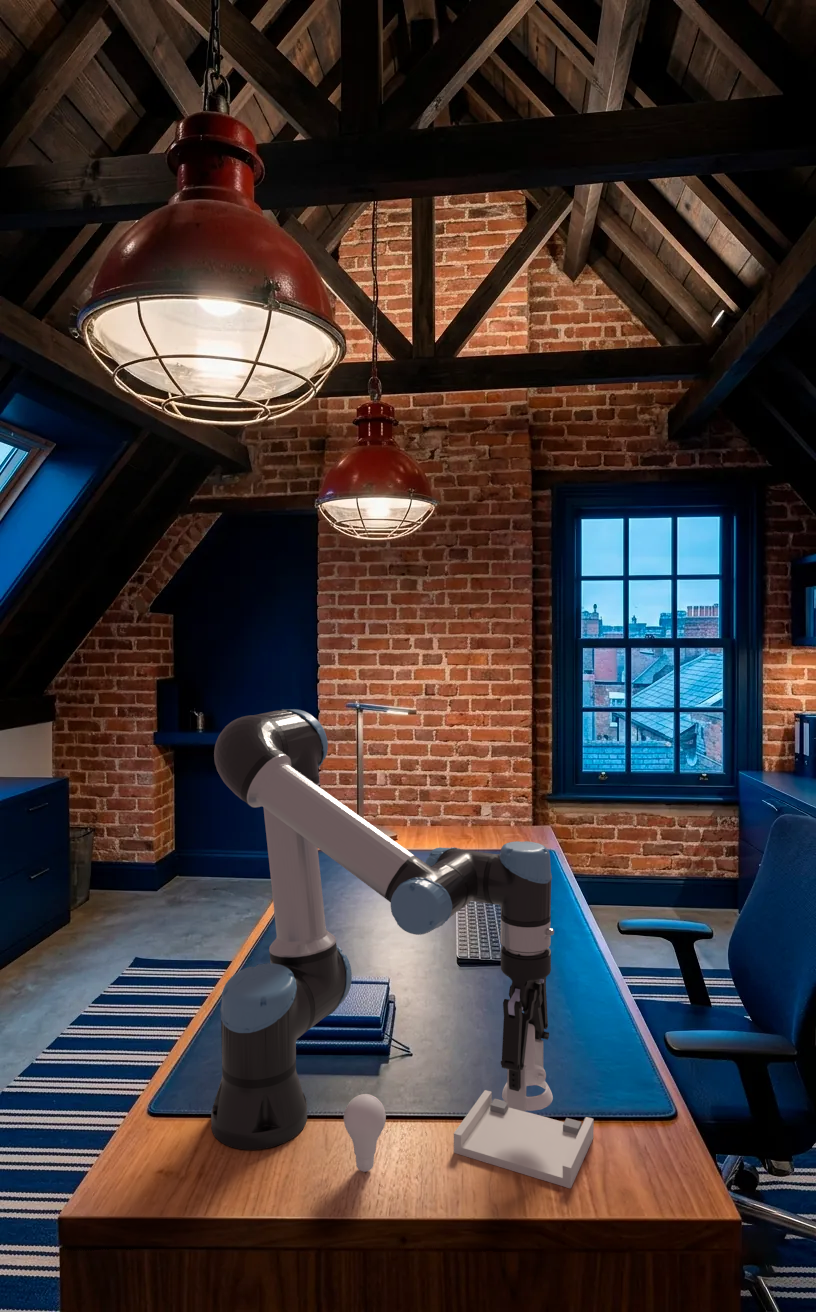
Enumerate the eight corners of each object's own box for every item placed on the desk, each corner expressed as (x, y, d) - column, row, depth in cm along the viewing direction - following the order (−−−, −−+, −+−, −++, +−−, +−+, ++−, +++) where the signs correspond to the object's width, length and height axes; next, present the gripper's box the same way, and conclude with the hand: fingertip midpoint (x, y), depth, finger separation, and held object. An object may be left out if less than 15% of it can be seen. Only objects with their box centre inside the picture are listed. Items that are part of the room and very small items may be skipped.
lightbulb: (391, 1162, 125) (391, 1089, 124) (376, 1188, 119) (376, 1112, 119) (353, 1153, 127) (353, 1082, 126) (337, 1179, 121) (337, 1104, 121)
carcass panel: (453, 1152, 127) (453, 1133, 127) (484, 1107, 139) (484, 1089, 139) (570, 1188, 119) (570, 1168, 119) (593, 1137, 131) (593, 1118, 131)
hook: (539, 1033, 137) (556, 1025, 131) (542, 1117, 130) (561, 1112, 125) (495, 1028, 136) (511, 1020, 130) (496, 1113, 129) (514, 1108, 123)
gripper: (528, 976, 117) (528, 1137, 118) (568, 927, 135) (568, 1067, 136) (477, 967, 120) (477, 1123, 121) (523, 920, 138) (523, 1056, 139)
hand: (525, 1093), depth 128 cm, fingers closed on hook, 8 cm apart
